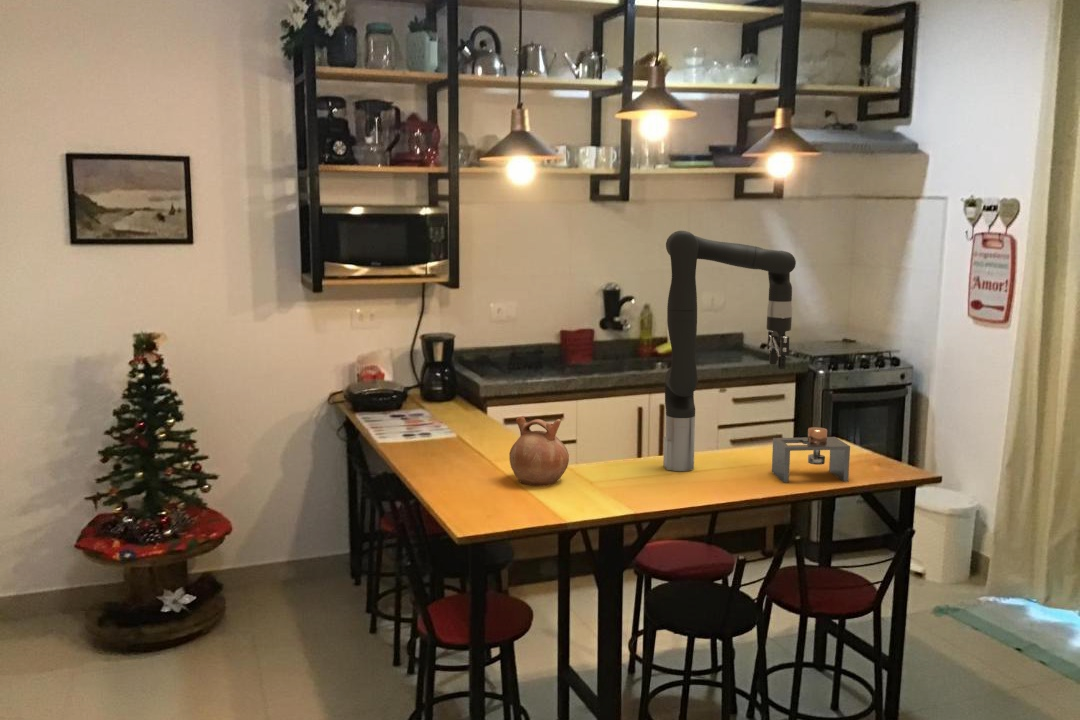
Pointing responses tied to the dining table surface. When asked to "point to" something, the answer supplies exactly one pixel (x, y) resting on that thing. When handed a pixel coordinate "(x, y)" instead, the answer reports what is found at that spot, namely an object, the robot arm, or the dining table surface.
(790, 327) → the robot arm
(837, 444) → the keyhole bridge
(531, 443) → the jug
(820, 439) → the keyhole peg
